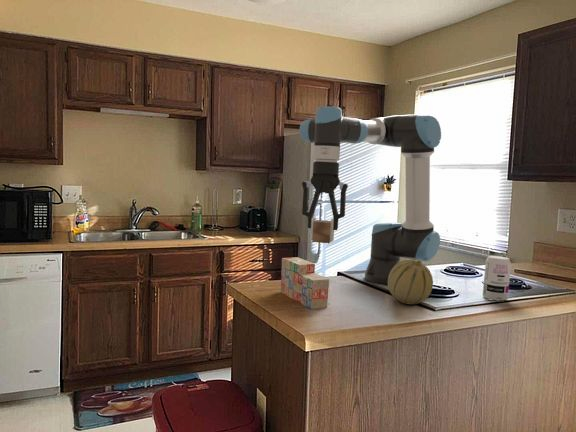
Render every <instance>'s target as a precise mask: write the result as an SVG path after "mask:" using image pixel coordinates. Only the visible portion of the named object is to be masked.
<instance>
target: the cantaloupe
mask: <svg viewBox="0 0 576 432" xmlns="http://www.w3.org/2000/svg"><path fill="white" fill-rule="evenodd" d="M387 287H388V290H389V292H390V294H391V295H392V297H393V298H394V299H395V300H397V301H398V302H400V303H403V304H406V305H418V304H421V303H422V302H424V301H426V299H428V298H429V296H430V295H431V293H432V290H433V287H434V278H433V275H432V273H431V270H430V269H429V268H428V267H427V266H426V264H423V263H422V261H416V260H413V259H404V260H400V262H399V263H397V264H396V265H395V266H394V267H393V268H392V270H391V272H390V274H389V277H388V284H387Z"/></svg>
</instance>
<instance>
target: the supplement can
mask: <svg viewBox="0 0 576 432" xmlns="http://www.w3.org/2000/svg"><path fill="white" fill-rule="evenodd" d="M511 266H512V262H511V260H510V258H509V257H506V256H501V255H488V256H487V258H486V260H485V265H484V277H483V288H482V296H483V297H484V298H485V299H486V298H488V299H487V300H489V299H492V300H491V301H493V300H505V301H507V300H508V296H509V290H510V289H509V287H510V277H511V269H512V268H511Z"/></svg>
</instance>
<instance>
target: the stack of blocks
mask: <svg viewBox="0 0 576 432" xmlns="http://www.w3.org/2000/svg"><path fill="white" fill-rule="evenodd" d="M315 269H316V264H315V263H314V262H311V261H308V260H306V259H303V258H300V257H298V256H297V257H296V256H295V257H282V258H281V271H280V272H281V273H280V275H281V277H280V280H281V281H280V282H281V283H280V293H282V294H284V296H287V297H288V298H290V299H292V300H294V301H296V302H298V303H300V304H301V305H303V306H304V307H306V308H308V309H310V310H316V309H323V308H328V300H329V299H328V298H329V289H330V278H328V277H325V276H323V275H321V274H318V273H316V272H315Z"/></svg>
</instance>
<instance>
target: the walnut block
mask: <svg viewBox="0 0 576 432" xmlns="http://www.w3.org/2000/svg"><path fill="white" fill-rule="evenodd" d="M330 230H331V220H323V219H316V220H315V221H314V222H313V236H312V240H311V241H312V243H321V244H330V243H331V242H330Z"/></svg>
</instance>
